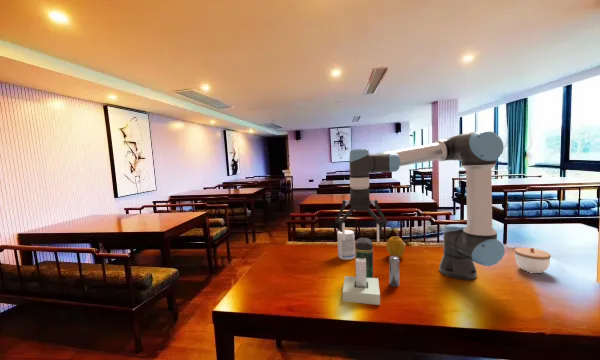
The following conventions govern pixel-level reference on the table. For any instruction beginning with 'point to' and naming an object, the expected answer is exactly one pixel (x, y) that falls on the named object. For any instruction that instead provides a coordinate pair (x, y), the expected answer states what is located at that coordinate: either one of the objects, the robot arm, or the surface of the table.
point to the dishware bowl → (532, 259)
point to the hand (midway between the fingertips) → (360, 240)
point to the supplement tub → (346, 245)
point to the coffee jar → (365, 254)
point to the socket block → (361, 291)
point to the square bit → (360, 273)
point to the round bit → (394, 270)
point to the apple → (395, 246)
